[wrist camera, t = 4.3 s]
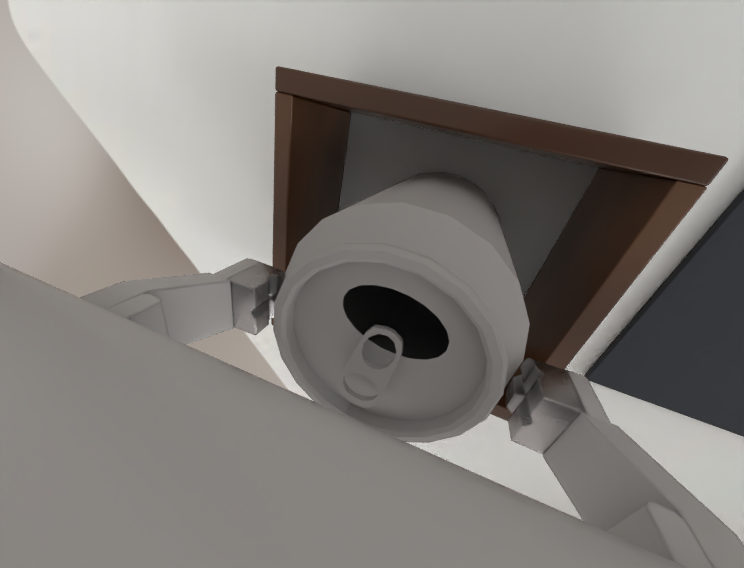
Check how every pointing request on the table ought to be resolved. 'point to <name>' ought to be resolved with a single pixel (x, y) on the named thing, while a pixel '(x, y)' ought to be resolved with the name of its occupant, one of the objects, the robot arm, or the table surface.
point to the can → (405, 310)
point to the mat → (690, 334)
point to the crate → (590, 147)
